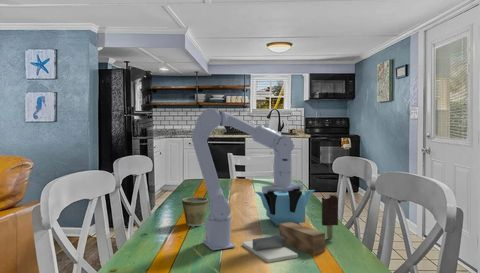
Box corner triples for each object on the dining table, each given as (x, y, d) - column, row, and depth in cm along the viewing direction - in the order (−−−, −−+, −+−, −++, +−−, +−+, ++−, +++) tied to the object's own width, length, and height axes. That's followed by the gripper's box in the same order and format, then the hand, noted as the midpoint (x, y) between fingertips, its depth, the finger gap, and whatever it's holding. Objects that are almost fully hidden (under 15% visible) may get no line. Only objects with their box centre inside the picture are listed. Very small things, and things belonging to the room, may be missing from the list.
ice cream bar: (323, 239, 126) (323, 195, 126) (321, 238, 128) (321, 194, 127) (338, 239, 126) (338, 195, 126) (336, 237, 128) (336, 194, 128)
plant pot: (201, 229, 139) (200, 202, 139) (177, 226, 142) (177, 200, 142) (215, 221, 151) (215, 196, 151) (193, 219, 155) (193, 195, 154)
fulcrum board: (242, 245, 120) (242, 233, 120) (269, 241, 124) (269, 229, 124) (268, 262, 105) (268, 248, 105) (297, 257, 109) (298, 243, 109)
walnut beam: (290, 221, 127) (290, 239, 128) (279, 223, 125) (279, 241, 125) (324, 233, 114) (324, 252, 114) (313, 235, 111) (313, 255, 111)
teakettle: (295, 232, 135) (295, 192, 134) (252, 224, 146) (252, 187, 145) (316, 221, 150) (316, 185, 150) (275, 215, 161) (276, 181, 161)
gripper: (269, 174, 115) (269, 218, 116) (308, 172, 121) (308, 213, 122) (258, 172, 122) (258, 213, 122) (296, 169, 128) (296, 209, 128)
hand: (282, 213), depth 122 cm, fingers open, 7 cm apart
